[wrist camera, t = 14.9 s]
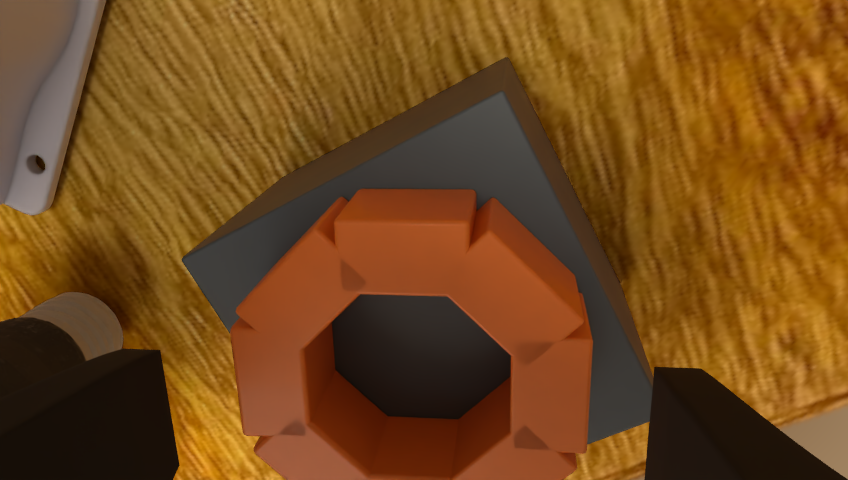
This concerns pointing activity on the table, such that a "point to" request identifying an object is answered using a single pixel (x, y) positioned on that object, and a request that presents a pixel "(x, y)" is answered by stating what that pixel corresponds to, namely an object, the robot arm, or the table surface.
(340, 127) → the table surface
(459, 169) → the cube
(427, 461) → the ring
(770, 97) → the table surface
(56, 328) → the light bulb
